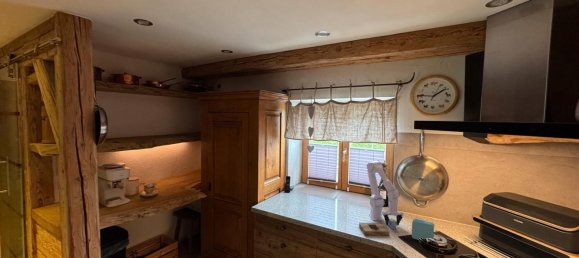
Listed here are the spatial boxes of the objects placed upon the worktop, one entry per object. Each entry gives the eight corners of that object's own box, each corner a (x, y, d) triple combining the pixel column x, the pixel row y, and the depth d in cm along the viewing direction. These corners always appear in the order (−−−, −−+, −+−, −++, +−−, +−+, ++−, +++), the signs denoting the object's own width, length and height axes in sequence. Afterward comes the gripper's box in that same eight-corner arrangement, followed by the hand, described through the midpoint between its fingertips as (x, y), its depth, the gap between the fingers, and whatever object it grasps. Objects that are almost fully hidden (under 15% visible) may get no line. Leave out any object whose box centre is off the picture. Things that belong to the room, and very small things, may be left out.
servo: (387, 224, 169) (387, 216, 169) (391, 224, 169) (392, 216, 169) (392, 230, 161) (392, 221, 160) (397, 230, 161) (397, 222, 161)
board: (359, 226, 164) (359, 222, 164) (381, 227, 165) (381, 223, 164) (364, 235, 152) (365, 231, 152) (388, 235, 153) (389, 231, 152)
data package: (433, 241, 147) (434, 222, 147) (432, 244, 144) (433, 225, 143) (412, 235, 154) (413, 217, 153) (411, 238, 150) (412, 220, 150)
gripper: (385, 208, 160) (384, 227, 161) (406, 208, 160) (405, 227, 161) (381, 204, 167) (380, 222, 168) (401, 204, 167) (400, 223, 168)
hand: (392, 225), depth 165 cm, fingers open, 7 cm apart
